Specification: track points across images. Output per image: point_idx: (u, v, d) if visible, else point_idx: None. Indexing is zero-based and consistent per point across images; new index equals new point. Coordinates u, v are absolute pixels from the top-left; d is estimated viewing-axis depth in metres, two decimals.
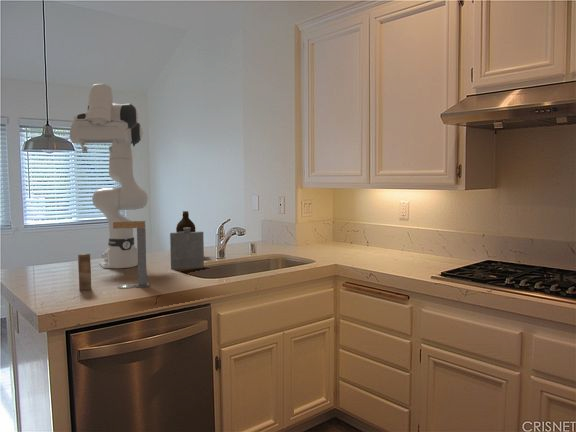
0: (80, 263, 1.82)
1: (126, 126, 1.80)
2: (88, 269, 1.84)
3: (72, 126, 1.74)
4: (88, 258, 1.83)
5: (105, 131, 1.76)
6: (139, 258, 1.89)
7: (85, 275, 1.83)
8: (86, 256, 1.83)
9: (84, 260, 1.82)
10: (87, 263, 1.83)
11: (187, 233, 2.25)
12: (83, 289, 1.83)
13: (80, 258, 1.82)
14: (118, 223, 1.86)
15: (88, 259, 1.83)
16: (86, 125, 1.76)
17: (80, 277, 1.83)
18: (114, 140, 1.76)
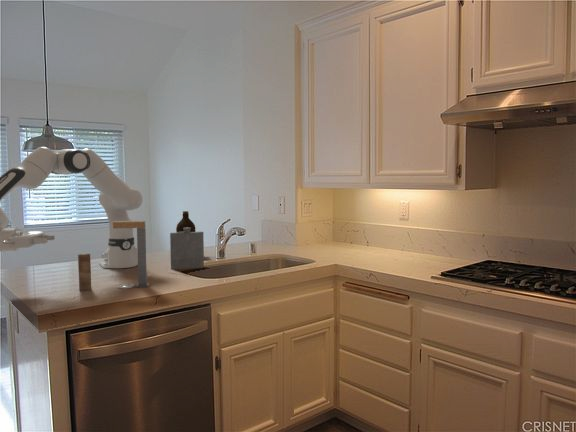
0: (80, 263, 1.82)
1: (10, 244, 1.69)
2: (88, 269, 1.84)
3: None
4: (88, 258, 1.83)
5: None
6: (139, 258, 1.89)
7: (85, 275, 1.83)
8: (86, 256, 1.83)
9: (84, 260, 1.82)
10: (87, 263, 1.83)
11: (187, 233, 2.25)
12: (83, 289, 1.83)
13: (80, 258, 1.82)
14: (118, 223, 1.86)
15: (88, 259, 1.83)
16: None
17: (80, 277, 1.83)
18: (33, 244, 1.75)
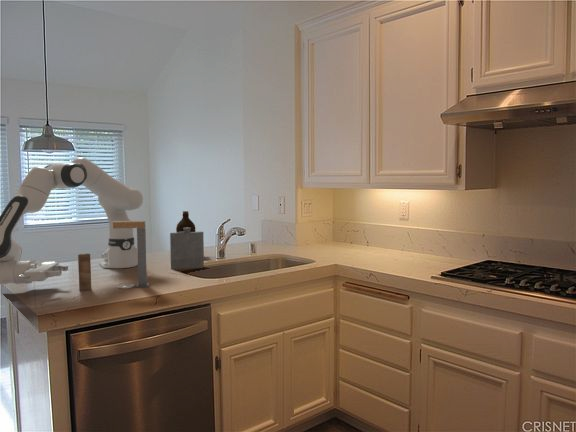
0: (80, 263, 1.82)
1: None
2: (88, 269, 1.84)
3: None
4: (88, 258, 1.83)
5: None
6: (139, 258, 1.89)
7: (85, 275, 1.83)
8: (86, 256, 1.83)
9: (84, 260, 1.82)
10: (87, 263, 1.83)
11: (187, 233, 2.25)
12: (83, 289, 1.83)
13: (80, 258, 1.82)
14: (118, 223, 1.86)
15: (88, 259, 1.83)
16: None
17: (80, 277, 1.83)
18: None
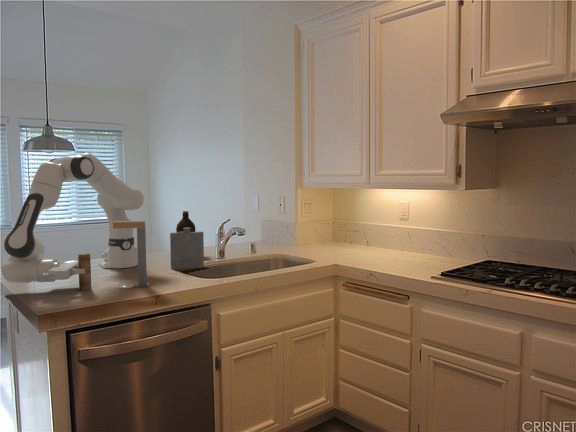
0: (80, 263, 1.82)
1: (49, 276, 1.73)
2: (88, 269, 1.84)
3: None
4: (88, 258, 1.83)
5: None
6: (139, 258, 1.89)
7: (85, 275, 1.83)
8: (86, 256, 1.83)
9: (84, 260, 1.82)
10: (87, 263, 1.83)
11: (187, 233, 2.25)
12: (83, 289, 1.83)
13: (80, 258, 1.82)
14: (118, 223, 1.86)
15: (88, 259, 1.83)
16: None
17: (80, 277, 1.83)
18: None
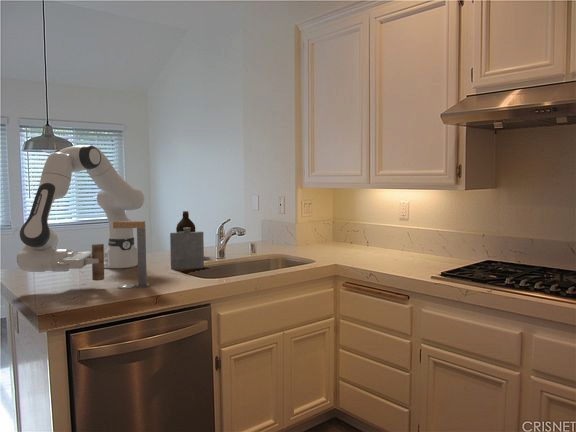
0: (94, 253, 1.84)
1: None
2: (101, 259, 1.86)
3: None
4: (102, 248, 1.85)
5: None
6: (139, 258, 1.89)
7: (98, 265, 1.85)
8: (100, 246, 1.85)
9: (98, 250, 1.84)
10: (101, 253, 1.85)
11: (187, 233, 2.25)
12: (96, 279, 1.85)
13: (94, 248, 1.84)
14: (118, 223, 1.86)
15: (102, 249, 1.85)
16: None
17: (93, 267, 1.85)
18: (86, 264, 1.82)
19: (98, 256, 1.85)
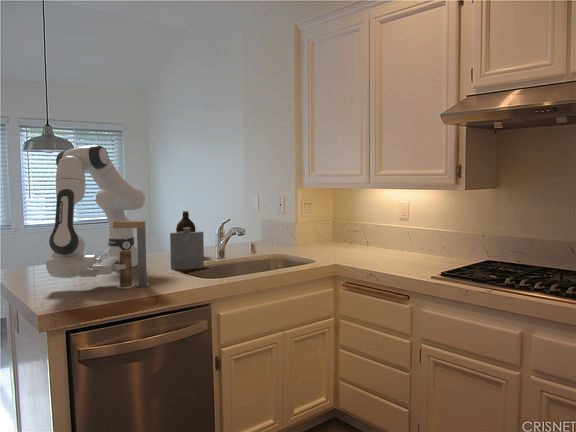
0: (122, 260, 1.87)
1: (93, 271, 1.78)
2: (129, 266, 1.88)
3: None
4: (129, 255, 1.88)
5: None
6: (139, 258, 1.89)
7: (126, 271, 1.88)
8: (127, 253, 1.87)
9: (125, 257, 1.87)
10: (128, 260, 1.88)
11: (187, 233, 2.25)
12: (124, 285, 1.88)
13: (122, 255, 1.87)
14: (118, 223, 1.86)
15: (129, 256, 1.88)
16: None
17: (121, 273, 1.88)
18: (114, 269, 1.84)
19: (126, 263, 1.87)
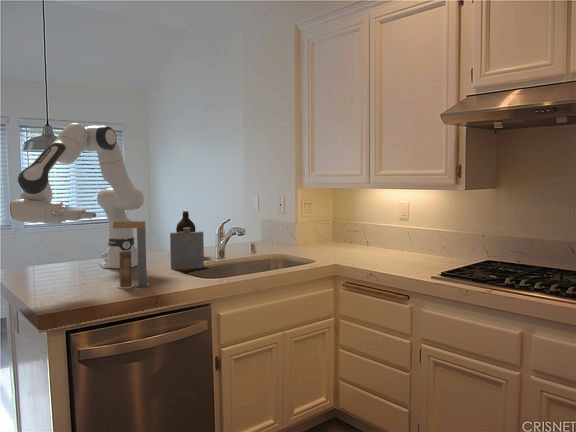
0: (121, 260, 1.87)
1: (58, 215, 1.74)
2: (129, 266, 1.88)
3: None
4: (129, 255, 1.88)
5: None
6: (139, 258, 1.89)
7: (126, 272, 1.87)
8: (127, 253, 1.87)
9: (125, 257, 1.87)
10: (128, 260, 1.88)
11: (187, 233, 2.25)
12: (124, 285, 1.88)
13: (122, 255, 1.87)
14: (118, 223, 1.86)
15: (129, 256, 1.88)
16: None
17: (121, 274, 1.87)
18: None
19: (126, 263, 1.87)
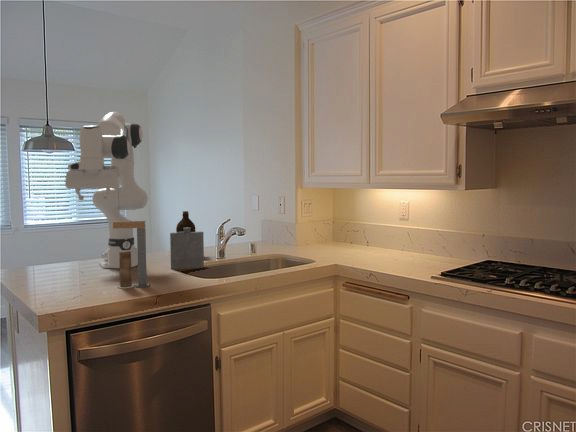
0: (121, 260, 1.87)
1: (118, 172, 1.91)
2: (129, 266, 1.88)
3: (67, 176, 1.85)
4: (129, 255, 1.88)
5: (98, 180, 1.88)
6: (139, 258, 1.89)
7: (126, 272, 1.87)
8: (127, 253, 1.87)
9: (125, 257, 1.87)
10: (128, 260, 1.88)
11: (187, 233, 2.25)
12: (124, 285, 1.88)
13: (121, 255, 1.87)
14: (118, 223, 1.86)
15: (129, 256, 1.88)
16: (80, 174, 1.86)
17: (121, 274, 1.87)
18: (107, 189, 1.90)
19: (126, 263, 1.87)
